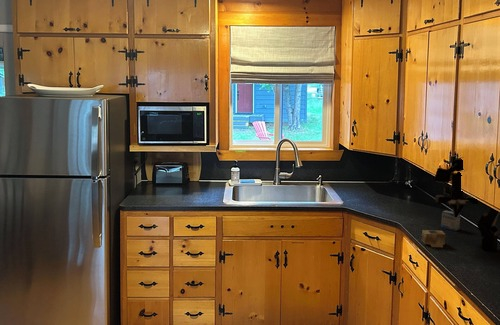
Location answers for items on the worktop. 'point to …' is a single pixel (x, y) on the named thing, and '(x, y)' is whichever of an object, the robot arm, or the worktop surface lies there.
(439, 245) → the mat
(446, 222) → the medicine box
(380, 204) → the worktop surface
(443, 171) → the robot arm
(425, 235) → the wooden block
